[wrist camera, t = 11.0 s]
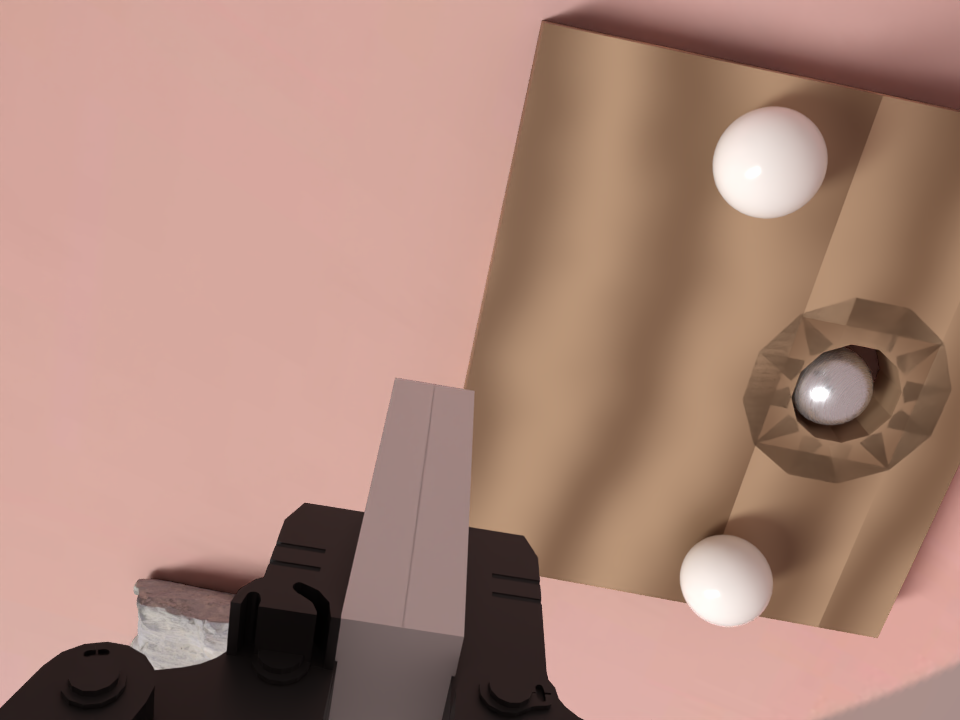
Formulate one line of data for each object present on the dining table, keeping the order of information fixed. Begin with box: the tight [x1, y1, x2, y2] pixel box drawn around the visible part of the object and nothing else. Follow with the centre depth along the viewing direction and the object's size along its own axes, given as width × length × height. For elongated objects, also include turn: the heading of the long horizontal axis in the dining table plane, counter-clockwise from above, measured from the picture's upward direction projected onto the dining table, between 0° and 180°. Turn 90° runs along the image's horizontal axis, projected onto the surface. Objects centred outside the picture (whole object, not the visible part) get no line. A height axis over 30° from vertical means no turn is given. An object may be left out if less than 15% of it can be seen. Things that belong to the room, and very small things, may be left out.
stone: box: [130, 579, 236, 670], centre depth 46 cm, size 6×12×4 cm, turn 89°
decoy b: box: [680, 535, 773, 627], centre depth 40 cm, size 4×4×4 cm
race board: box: [464, 20, 960, 638], centre depth 39 cm, size 22×24×2 cm
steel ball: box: [791, 347, 873, 425], centre depth 39 cm, size 4×4×4 cm
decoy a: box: [713, 106, 828, 219], centre depth 33 cm, size 4×4×4 cm
